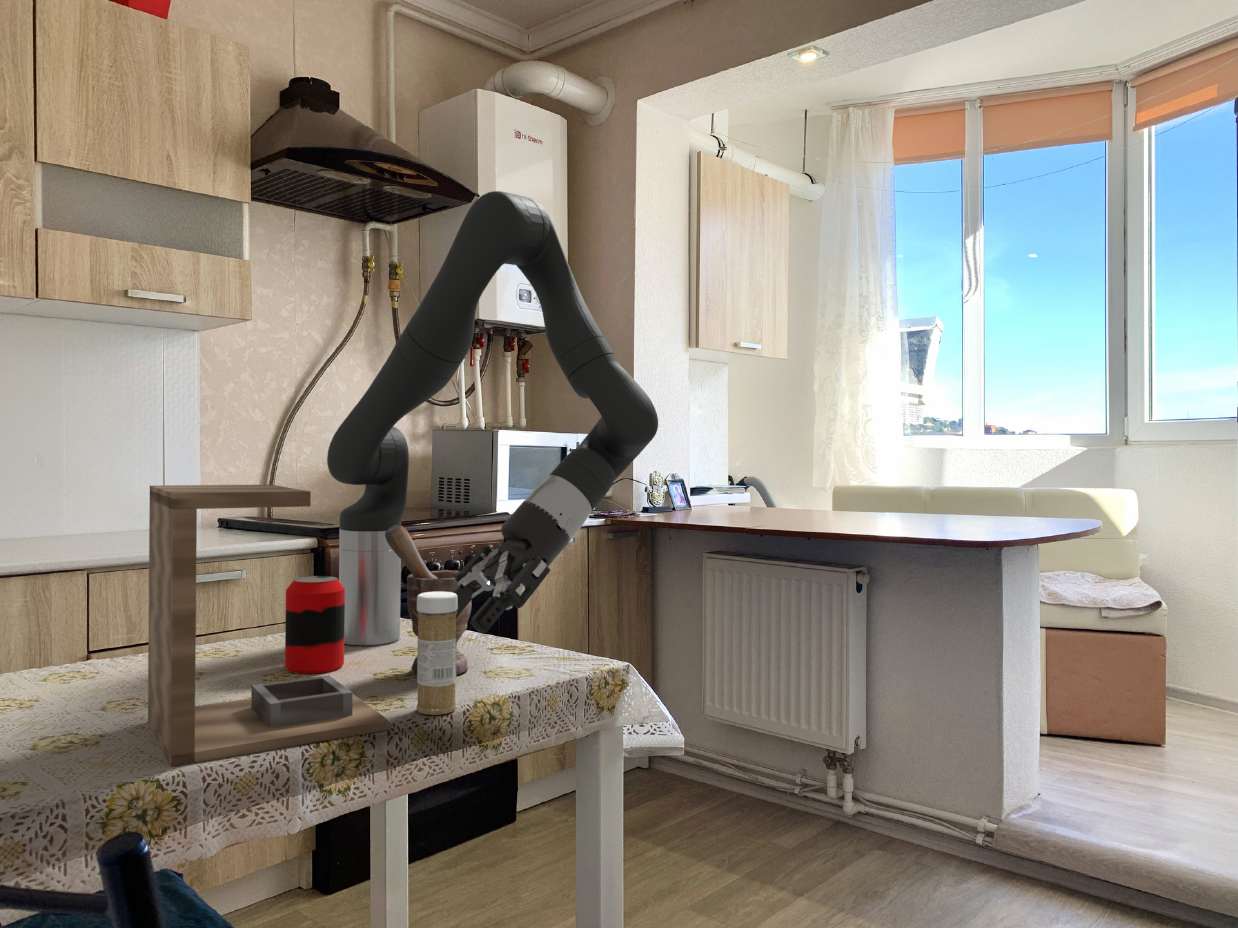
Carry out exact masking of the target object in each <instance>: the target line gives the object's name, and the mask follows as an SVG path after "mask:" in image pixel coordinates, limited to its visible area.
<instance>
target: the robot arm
mask: <svg viewBox="0 0 1238 928" xmlns="http://www.w3.org/2000/svg"><path fill="white" fill-rule="evenodd" d="M504 265H511V266H516V267H517V268H518V270H520V272H521V273H522V274H523V275H524V277H525V278H526V279H527V281H528V282H529V284H530V285H531V287H532V289H533V290H534V293H535V294H536V296H537V299H538V301H539V305H540V307H541V312H542V318H543V323H544V329H545V334H546V335H545V336H546V339H547V343H548V346H549V347H550V348H549V349H550V350H551V352H552V354H553V357H554V359H555V360H556V362H557V364H558V366H559V368H560V370H562V373H563V374H564V376H565V378H566V379H567V381H568V383H569V385H570V386H571V388H572V390H573V391H574V392H575V394H576V395H577V396H578V397H580V398H582V399H589V400H590V401H591V403H592V404H593V406H594V407H595V408H596V410H597V411H598V412H599V414H600V416H601V417H600V418H599V420H598V421H597V422H596V424H595V425H594V426H593V427H592V429H591V430H590V431H589V432H588V434H587V435H586V436H585V437H584V438H583V440H582V441H581V442H580V444H578V446H577V447H576V448H574V449H573V450H571V451H570V452H569V453H568V454H566V456H565V457H564V458H563V459H562V460H561V461H560V462H559V463H558V464H557V466H556V467H555V468H554V469H553V470H552V472H551V473H549V475H548V476H547V477H545V479H544V480H543V481H541V482H540V483H539V484H538V485H536V486H535V488H534V489H533V490H532V491H531V492H530V493H529V495H528V496H527V497H526V498H525V499H524V500H523V501H522V503H520V505H518V507H517V508H516V509H515V511H513V513H512V514H511V515H510V516H509V517H508V518H507V520H506V521H504V523H503V524H502V526H501V528H500V532H501V535H502V538H503V542H502V543H501V544H500V545H499V546H498V547H497V548H495V549H493V547H491V545H490V544H489V543H486V544H484V545H483V546H482V547H481V548H480V549H479V550H478V551H477V552H476V554H474V556H473V557H472V558H471V559H470V560H469V561H468V562H467V563H466V564H465V565H464V566H463V568H462V569H460V572H459V573H458V574H457V575H456V577H455V579H456V580H457V581H458V586H459V587H458V588H457V589H456V590H455V591H454V592H453V593H455V594H457V597H458V609H457V610H456V611H457V614H456V618H457V616H458V615H459V614H460V613H461V612H462V611H463V609H464V608H465V607H466V606H467V605H468V604H469V602H470V601H471V600H472V601H473V598H475V597H477V595H480V594H481V593H482V592H484V591H487V592H490V591H492V590H493V589H494V590H493V593H492V597H491V596H489V598H488V599H486V601H485V602H484V603H483V605H481V607H479V609H478V610H477V611H476V613H475V614H474V615H473V616H472V617H471V618H470V621H469V623H470V625H471V626H472V627H473V628H474V629H475V630H476V631H477V632H478V633H480V634H486V633H487V632H488V631H489V630H490V629H491V627H492V626H493V625H494V624H495V623H496V621H497V620H498V619H499V618H500V617H501V615H503V613H504V612H505V611H509V610H511V609H512V608H513V607H516V608H517V609H520V608H523V607H524V605H525V604H526V603H527V601H528V600H529V599H530V597H531V596H532V595H533V594H534V592H535V591H536V590H537V589H538V587H539V586H540V585H541V584H542V582H543V581H544V580H545V578H546V577H547V576H548V574H549V573H550V572H551V568H550V566H551V565H552V563H553V562H554V561H555V560H556V558H557V557H559V555H560V554H561V552H562V551H563V550H564V549H565V548H566V546H567V545H568V544H569V543H570V541H571V540H572V539H573V538H574V537H575V535H576V534H577V533H578V532H579V530H580V529H581V528H582V526H584V524H585V523H586V521H587V519H588V517H589V516H590V514H592V512H593V510H594V509H596V507H597V506H598V505H599V503H601V501H602V500H603V499H604V497H605V496H606V495H607V494H608V492H609V491H610V490H611V488H612V486H613V485H614V482H615V481H616V480H617V479H618V477H620V476H621V475H622V474H623V472H624V471H625V470H626V469H627V468H628V467H629V466H630V465H631V463H632V462H633V461H635V459H636V458H637V457H638V456H639V455H640V454H641V452H643V450H644V449H645V448H646V447H647V446H648V445H649V444H650V442H652V440H653V439H654V438H655V436H656V434H657V432H658V428H659V417H658V414H657V410H656V407H655V405H654V404H653V401H652V399H651V398H650V396H649V395H648V394H647V393H646V391H645V390H644V389H643V388H642V387H641V386H640V385H639V383H637V381H636V380H635V379H634V378H633V377H632V375H630V373H628V371H627V370H625V368H623V367H622V366H621V365H620V363H619V361H618V359H617V357H616V355H615V353H614V352H613V350H612V348H611V346H610V345H609V343H608V341H607V339H606V338H605V336H604V334H603V333H602V331H601V329H600V327H599V326H598V324H597V322H596V320H595V319H594V317H593V315H592V313H591V311H590V309H589V308H588V306H587V304H586V301H585V300H584V297H583V296H582V293H581V291H580V288H579V286H578V284H577V281H576V279H575V276H574V274H573V272H572V269H571V267H570V264H569V262H568V259H567V257H566V254H565V252H564V250H563V247H562V244H561V241H560V239H559V236H558V233H557V230H556V228H555V226H554V224H553V221H552V219H551V216H550V215H549V213H548V211H547V209H546V208H545V207H544V206H543V205H542V204H541V203H540V202H538V201H536V200H534V199H533V198H531V197H527V196H523V195H520V194H515V193H512V192H511V193H510V192H508V191H507V192H506V191H502V190H498V191H497V190H495V191H494V190H493V191H489V192H486V193H484V194H482V195H481V196H479V197H478V198H477V199H476V200H474V202H473V203H472V205H471V206H470V208H469V209H468V211H467V213H466V214H465V216H464V217H463V220H462V222H461V225H460V227H459V229H458V231H457V233H456V235H455V237H454V240H453V242H452V244H451V247H450V248H449V251H448V253H447V255H446V257H445V259H444V261H443V264H442V265H441V267H440V269H439V271H438V273H437V274H436V276H435V278H434V280H433V282H432V283H431V285H430V286H429V288H428V290H427V292H426V293H425V296H423V299H422V301H421V302H420V304H419V306H418V307H417V309H416V311H415V312H414V314H413V315H412V316H411V318H410V320H409V321H408V323H407V324H406V326H405V328H404V330H403V331H402V332H401V334H400V336H399V338H398V339H397V341H396V343H395V345H394V346H393V348H392V350H391V352H390V354H389V355H388V357H387V359H386V361H385V362H384V364H383V365H382V367H381V368H380V370H379V371H378V373H377V375H376V376H375V378H374V379H373V381H372V382H371V383H370V385H369V387H368V388H367V390H366V391H365V393H364V394H363V395H362V397H361V399H360V400H359V401H358V402H357V404H355V406H354V407H353V408H352V410H351V411H350V412H349V413H348V414H347V416H346V418H344V420H343V421H342V423H341V424H340V425H339V427H338V428H337V430H336V431H335V433H334V434H333V436H332V438H331V440H330V443H329V446H328V450H327V456H326V460H327V461H326V462H327V463H326V464H327V468H328V473H330V475H331V477H332V478H333V479H334V480H336V481H338V483H341V484H345V485H354V486H363V485H364V487H365V488H364V492H363V494H362V496H361V497H360V498H359V499H358V500H357V501H356V502H355V503H353V504H351V505H349V506H348V507H345V508H344V509H342V510H341V512H340V514H339V542H338V546H339V547H338V548H339V549H338V550H339V551H338V556H339V558H338V559H339V561H338V570H339V571H338V580H339V582H340V583H341V584H342V585H343V587H344V588H345V622H344V645H352V646H375V645H377V646H378V645H385V644H390V643H393V642H394V643H395V642H396V641H398V640H400V637H401V588H402V587H401V581H402V580H401V577H402V576H401V574H402V573H401V572H402V560H401V559H400V558H399V557H398V556H397V554H396V553H395V552H394V551H393V549H392V548H391V547H390V545H389V544H388V542H387V540H386V538H385V532H386V531H387V530H388V529H389V528H390V527H393V526H395V525H401V526H402V520H403V517H404V513H405V511H406V508H407V501H408V500H407V498H408V495H407V494H408V481H409V467H410V454H409V453H410V451H409V447H408V441H407V439H406V437H405V435H404V433H403V432H402V431H401V430H400V429H398V428H397V427H395V425H396V424H397V423H398V422H399V421H400V420H401V419H403V418H404V417H405V416H406V415H408V414H409V413H410V412H412V411H413V410H415V409H416V408H418V407H420V406H421V405H422V404H424V403H425V402H427V401H428V400H429V399H431V398H432V397H434V396H435V395H436V394H437V393H439V392H440V391H441V390H443V388H445V387H446V386H447V384H448V383H449V382H450V381H451V380H452V378H453V377H454V375H455V373H456V372H457V371H458V369H459V367H460V366H461V364H462V363H463V361H464V360H465V358H466V356H467V355H468V353H469V351H470V349H471V346H472V342H473V341H474V340H473V339H474V333H475V326H476V325H475V323H476V311H477V307H478V303H479V301H480V299H481V297H482V295H483V293H484V291H485V289H486V288H487V286H488V285H489V284H490V282H491V281H492V279H493V277H494V276H495V275H496V274H497V272H498V271H499V270H500V268H501V267H503V266H504ZM469 572H470V574H468V573H469ZM467 574H468V575H467ZM466 575H467V576H466ZM523 589H524V591H523ZM522 591H523V592H522Z"/></svg>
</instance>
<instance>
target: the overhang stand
mask: <svg viewBox="0 0 1238 928" xmlns="http://www.w3.org/2000/svg"><path fill="white" fill-rule="evenodd" d="M311 499H312V498H311V491H310V490H303V489H297V488H294V487H288V486H282V485H281V486H280V485H275V484H188V485H187V484H185V485H183V484H182V485H181V484H179V485H177V484H176V485H170V484H168V485H166V484H165V485H160V484H159V485H149V512H148V513H149V516H148V517H149V519H148V520H149V522H148V523H149V529H148V530H149V531H148V532H149V533H148V536H149V538H148V539H149V540H148V541H149V542H148V543H149V544H148V546H149V547H148V549H149V551H148V639H147V640H148V648H147V652H148V653H147V656H148V658H147V659H148V662H147V663H148V664H147V665H148V666H147V668H148V669H147V672H148V673H147V683H148V684H147V723H148V725H149V727H150V729H151V731H152V732H153V735H154V737H155V739H156V740H157V743H158V744H159V746H160V748H161V750H162V752H163V753H164V756H165V758H166V759H167V761H168V764H169V766H171V767H175V766H177V767H178V766H181V765H187V764H194V763H199V762H200V763H201V762H206V761H212V760H217V759H223V758H230V757H235V756H236V757H237V756H242V755H247V754H252V753H258V752H260V753H261V752H264V751H271V750H277V749H283V748H289V747H295V746H300V745H301V746H302V745H306V744H313V743H319V742H325V741H329V740H330V741H331V740H336V739H341V738H349V737H353V736H360V735H367V734H370V733H371V734H372V733H378V732H383V731H389V730H390V719H388V718H387V717H386V716H384V715H382V713H380V712H378V711H377V710H375V708H373V707H372V706H370V705H369V704H368V703H366V702H365V701H363V700H362V699H360V698H359V697H358V696H357V695H355V694H354V692H353V691H352V690H350V689H349V688H347V687H346V686H344V685H343V684H342V683H340V682H339V681H338V680H336V679H335V678H334V677H332V676H331V675H329V674H327V675H320V676H315V677H314V676H312V677H305V678H298V679H297V678H296V679H291V680H281V681H275V682H274V681H273V682H267V683H257V684H251V689H250V690H251V698H246V699H238V700H231V701H223V702H216V703H209V704H202V705H201V704H200V705H196V656H197V655H196V648H197V646H196V641H197V639H196V636H197V635H196V632H197V631H196V629H197V624H196V623H197V619H196V618H197V538H198V537H197V536H198V534H197V533H198V532H197V531H198V529H197V527H198V526H197V525H198V520H197V518H198V516H197V514H198V510H211V509H215V510H216V509H252V508H253V509H254V508H257V509H259V508H293V507H294V508H297V507H301V508H302V507H304V508H305V507H311Z"/></svg>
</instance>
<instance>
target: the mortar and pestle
mask: <svg viewBox="0 0 1238 928" xmlns="http://www.w3.org/2000/svg"><path fill="white" fill-rule="evenodd" d="M385 538H386V540H387V542H388V544H389V545H390V547H391V548H392V549H393V551H394V552H395V553H396V554H397V556H398V557H399V558H400V559H401V562H403V564H404V565H405V566H406V567H407V569H408V570H409V572H410V573H411V574H408V576H407V577H406V595H407V596H406V598H407V599H406V600H407V611H408V614H409V617H410V620H411V624H412V626H411V627H412V628H411V629H412V632H413V634H414V635H415V636H416V637H417V638H418V611H417V596H418V595H419V594H421V593H425V592H437V591H443V592H452V593H453V592H454V591H455V590H456V589H457V588H458V587H459V586H458V581H457V580H456V579H455V577H456V575H457V574H458V573H459V572H460V571H461V570H460V571H459V570H457V569H455V570H448V569H444V570H432V571H431V570H429V569H428V567H427V565H426V563H425V561H424V559H423V558H422V557H421V554H420V552H419V550H418V548H417V546H416V545H415V542H414V540H413V539H412V537H411V535H410V533H409V531H408V530H407V529H406V528H405V527H404V526H403V525H402V524H401V525H395V526H393V527H390V528H389V529H388V530H387V531H386V532H385ZM470 573H471V571H470V572H469V573H468V574H470ZM468 574H467V575H468ZM467 575H466V576H467ZM472 601H473V599H472V600H471V601H470V602H469V604H468V605H467V606H466V607H465V608H464V609H463V611H462V612H461V613H460V614H459V615H458V616H457V618H456V675H459V674H460V675H461V674H462V673H464V672H466V671H467V670H468V669H469V667H468V660H467V657H466V656H465V654H463V653H460V651H459V648H457V647H458V645H457V643H458V642H459V640H460V638H461V637H462V635H464V633H465V631H466V630H467V629H468V621H469V618H470V616H471V612H472V606H473V605H472ZM417 659H418V655H417V656H416V657H415V658H414V660H413V663H412V665H411V671H412V673H414V675H417Z"/></svg>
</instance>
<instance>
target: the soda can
mask: <svg viewBox="0 0 1238 928" xmlns="http://www.w3.org/2000/svg"><path fill="white" fill-rule="evenodd" d="M344 622H345V588H344V587H343V585H342V584H341V583H340V582H339V577H337V576H336V577H335V576H330V575H329V576H328V575H312V576H310V575H309V576H302V577H301V576H300V577H296V578H293V580H292V582H291V583H290V584H289V585H288V587H287V588H286V589H285V633H284V635H285V638H284V642H285V643H284V644H285V645H284V667H285V669H286V670H287V671H288V672H290V673H295V674H301V675H302V674H303V675H305V674H306V675H315V674H326V673H330V672H333V671H338V670H339V669H341V668H342V666H343V665H344V664H345V644H344Z"/></svg>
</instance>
